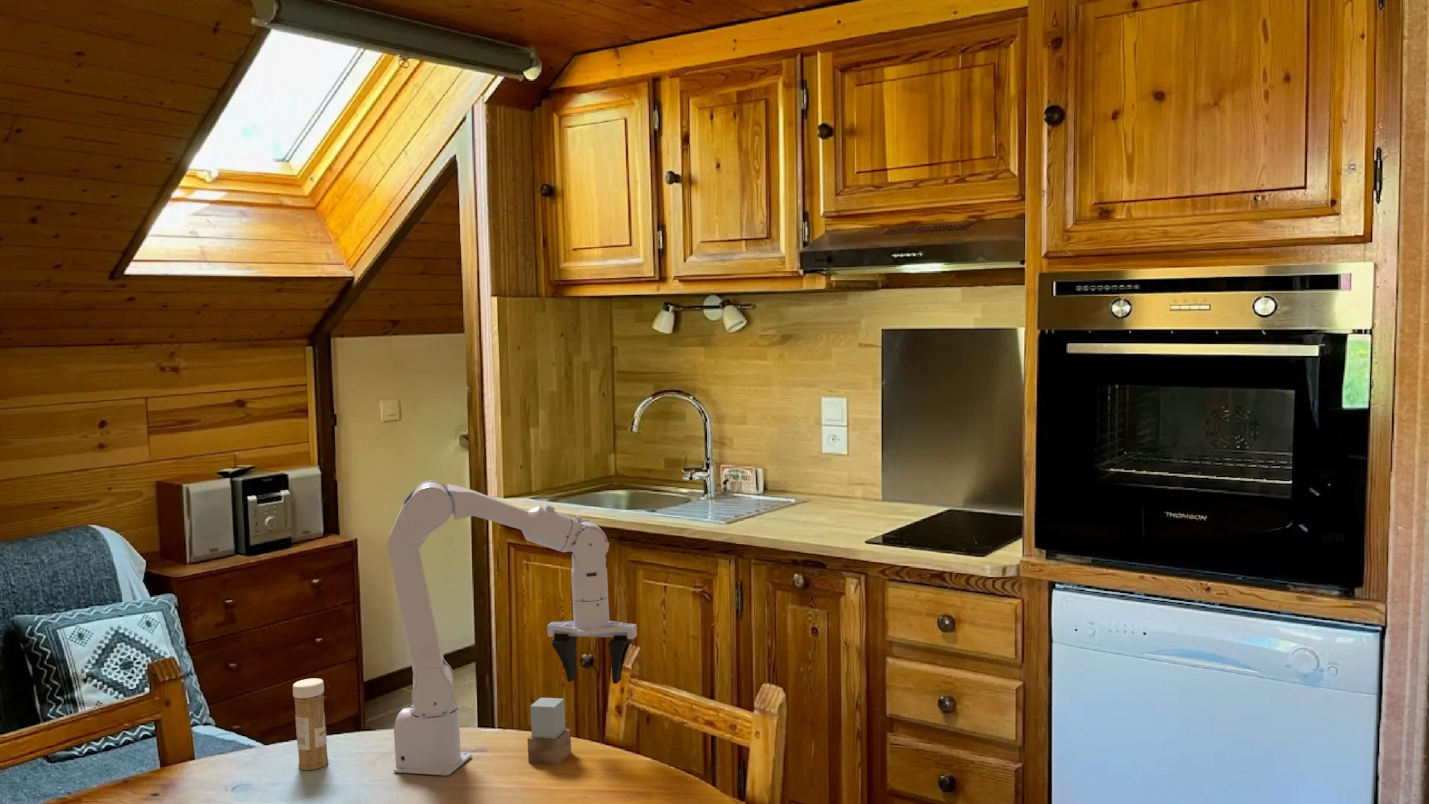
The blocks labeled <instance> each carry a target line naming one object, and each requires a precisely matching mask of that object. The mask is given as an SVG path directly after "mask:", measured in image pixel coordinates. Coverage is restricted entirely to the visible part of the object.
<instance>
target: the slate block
mask: <svg viewBox="0 0 1429 804" xmlns="http://www.w3.org/2000/svg"><path fill="white" fill-rule="evenodd" d="M529 706H530V726H531V727H530V728H531V729H530V730H531V735H532V738H548V739H556V738H557V737H558V736H560V735H561V734H562V733H563V732H564V731H565V730H566V729H567V728H566V708H565V707H566V706H565V698H562V697H561V698H558V697H557V698H556V697H539V698H538V699H537V700H536V701H535V702H534V703H532V704H531V705H529Z"/></svg>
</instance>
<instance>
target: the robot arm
mask: <svg viewBox="0 0 1429 804" xmlns="http://www.w3.org/2000/svg"><path fill="white" fill-rule="evenodd" d="M452 515H453V517H454V518H453V519H454V521H455V522H456V521H459V520H462V519H467V518H469V517H477V518H480V519H483V520H486V521H490V522H493V523H496V524H501V525H504V526H507V527H511V528H515V529H518V530H520V531H521V532H522V534H523V536H524V538H525V540H526V541H528V542H531V543H534V544H537V545H540V546H543V547H545V548H549V549H552V550H555V551H558V552H561V553H566V552H567V553H568V552H570V553H572V554H571V567H572V568H571V571H570V573H571V574H570V575H571V577H570V578H571V594H572V616H573V618H572V619H573V620H570V621H569V620H568V621H567V620H566V621H552V622H550V623H549V624H547V637H552V638H553V637H554V638H553V640H552V641H551V645H552V647H553V649H554V650H555V652H556V653H557V655H558V657H559V659H560V661H561V664H562V667H563V670H564V672H565V675H566V679H567V682H569V683H570V682H571V683H572V682H573V681H575V680H576V678H577V675H578V674H577V672H578V670H577V660H576V659H577V657H576V654H577V640H578V639H577V638H578V637H589V638H591V637H592V638H596V637H597V638H612V639H611V640H610V641H608V642H607V646H608V649H609V655H610V660H611V661H610V662H611V680H612V684H618V683H619V682H620V681H621V680H622V673H623V668H624V664H625V660H626V656H627V654H628V651H629V648H630V646H631V643H632V641H633V640H634V639H635V638H637V636H638V633H637V632H638V630H637V629H638V628H637V624H636V623H626V622H619V621H613V620H610V609H609V607H610V605H609V587H608V586H609V584H608V581H609V580H608V568H607V567H606V566H607V565H606V563H607V558H606V555H607V554H608V552H609V548H610V542H609V541H608V537H607V535H606V533H605V532H604V530H603V529H602V528H601V527H600V526H599V525H598V524H596V523H595V522H592V521H591V520H589V519H583V517H582V516H579V515H576V516H575V517H573V516H571V515H570V516H569V515H567V514H565V513H562V512H558V511H556V510H555V506H553V505H550V504H546V505H545V507H544V506H541V505H537V506H535V507H533V508H530V509H527V510H526V509H524V508H523V507H522V508H521V507H519V506H516V505H513V504H511V503H508V502H506V501H503V500H500V499H497V498H495V497H493V496H490V495H487V494H483V493H481V492H478V491H476V490H474V489H472V488H471V489H470V488H466V487H463V486H459V485H456V484H449V483H447V486H446V485H445V484H444V483H442V482H440V481H438V480H433V479H431V480H430V479H429V480H425V481H422V482H420V483H418V484H417V485H416V486H415V487H414V488H413V489H412V490H411V491H410V492H409V494H408V495H406V496H405V498H404V499H403V503H402V504H401V507H400V510H399V512H398V514H397V516H396V519H395V521H394V524H393V526H392V528H391V530H390V532H389V534H388V537H387V542H386V548H387V553H388V557H389V563H390V565H391V572H392V575H393V580H394V585H395V590H396V594H397V598H398V602H399V607H400V612H401V616H402V617H401V618H402V621H403V626H404V631H405V636H406V639H407V645H408V650H409V653H410V659H411V660H410V661H411V668H412V674H413V675H412V685H413V686H412V691H411V702H412V705H411V706H410V707H404V708H402V709H401V710H400V711H399V713H398V714H397V716H396V718H395V722H394V728H393V738H394V739H393V740H394V754H395V767H394V768H393V772H394V773H401V774H402V773H403V774H417V775H418V774H419V775H433V776H450V775H452V774H453V772H455V771H456V770H457V769H458V768H459V767H461V766H462V765H463V764H464V763H466V762H467V761H468V760H469V759H471V757H472V754H473V753H471V752H462V750H461V736H460V735H461V734H460V733H461V731H460V717H459V716H460V715H459V703H458V701H457V700H456V699H455V692H456V691H455V687H454V677H455V676H454V672H453V669H452V667H451V665H450V664H449V663H448V662H447V661H446V660H445V658H444V654H443V650H442V646H441V643H440V638H439V634H438V629H437V625H436V620H435V615H434V612H433V606H432V602H431V597H430V592H429V589H428V584H427V578H426V573H425V570H424V564H423V559H422V557H421V550H420V548H421V547H422V546H423V545H424V544H425V542H426V541H427V539H428V538H429V537H430V534H432V533H433V532H435V531H436V530H437V529H438V530H439V528H440V527H442V526H444V525H445V523H447V522H448V521H449V519H450V517H451V516H452Z"/></svg>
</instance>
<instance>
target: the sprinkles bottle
mask: <svg viewBox="0 0 1429 804" xmlns="http://www.w3.org/2000/svg"><path fill="white" fill-rule="evenodd" d="M324 685H325V684H324V680H323V679H322V678H318V677H316V678H306V679H301V680H298V681H296V682H294V683H293V685H292V696H293V699H294V709H295V715H294V716H295V717H294V718H295V730H296V745H297V750H298V768H299V769H300V770H304V771H313V770H318V769H321V768H323V767H325V766H327V765H328V764H329V758H328V746H327V742H328V741H327V739H328V738H327V727H326V726H327V725H326V714H325V705H324V692H325V686H324Z"/></svg>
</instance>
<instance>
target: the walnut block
mask: <svg viewBox="0 0 1429 804" xmlns="http://www.w3.org/2000/svg"><path fill="white" fill-rule="evenodd" d="M526 739H527V755H528V758H527V759H528V763H529V764H536V765H539V764H540V765H551V766H552V765H553V766H559V765H560V764H561V763H562V762H563V761H565V759H566V758H567V757H569V756H570V755H571V754H572V742H571V741H572V738H571V728H566V730H565V731H564V732H563V733H562V734H561V735H560V736H558V737H557V738H556V739H548V738H532V734H531V735H530V736H529V737H528V738H526Z"/></svg>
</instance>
